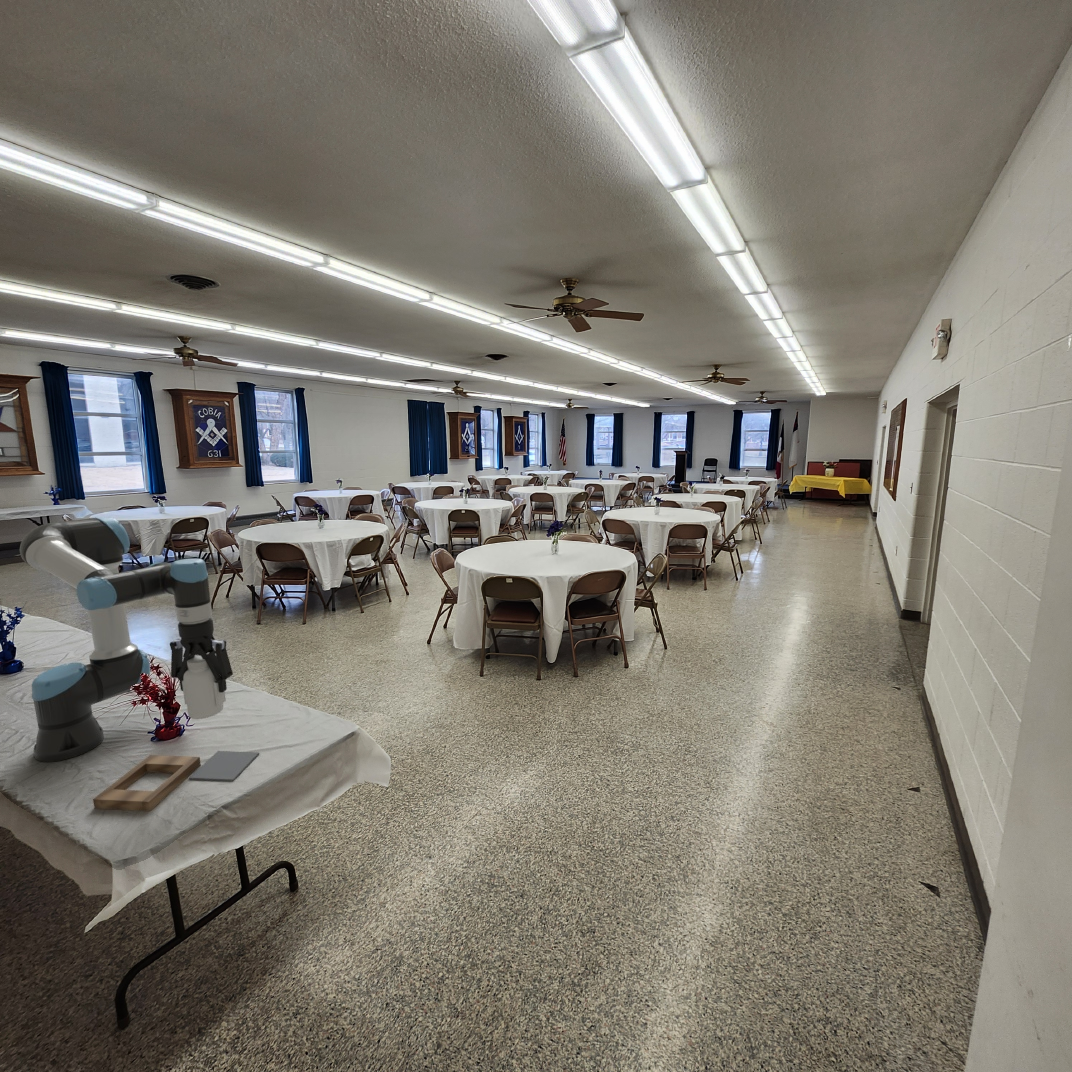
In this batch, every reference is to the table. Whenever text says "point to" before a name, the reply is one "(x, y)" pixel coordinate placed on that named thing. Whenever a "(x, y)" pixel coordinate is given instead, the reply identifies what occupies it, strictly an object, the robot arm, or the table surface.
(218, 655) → the robot arm
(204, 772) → the mat
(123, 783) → the pocket board
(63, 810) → the table surface
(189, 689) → the pill bottle
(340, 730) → the table surface
